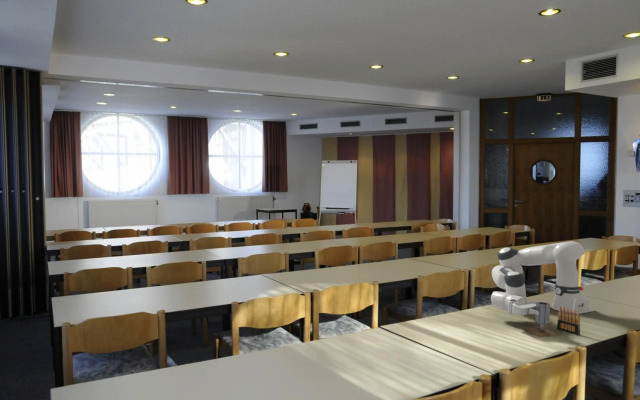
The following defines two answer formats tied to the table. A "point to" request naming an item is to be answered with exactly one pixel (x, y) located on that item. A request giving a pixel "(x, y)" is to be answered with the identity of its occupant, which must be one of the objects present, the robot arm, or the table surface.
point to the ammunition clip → (568, 321)
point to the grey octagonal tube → (542, 312)
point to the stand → (542, 331)
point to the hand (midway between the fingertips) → (544, 312)
